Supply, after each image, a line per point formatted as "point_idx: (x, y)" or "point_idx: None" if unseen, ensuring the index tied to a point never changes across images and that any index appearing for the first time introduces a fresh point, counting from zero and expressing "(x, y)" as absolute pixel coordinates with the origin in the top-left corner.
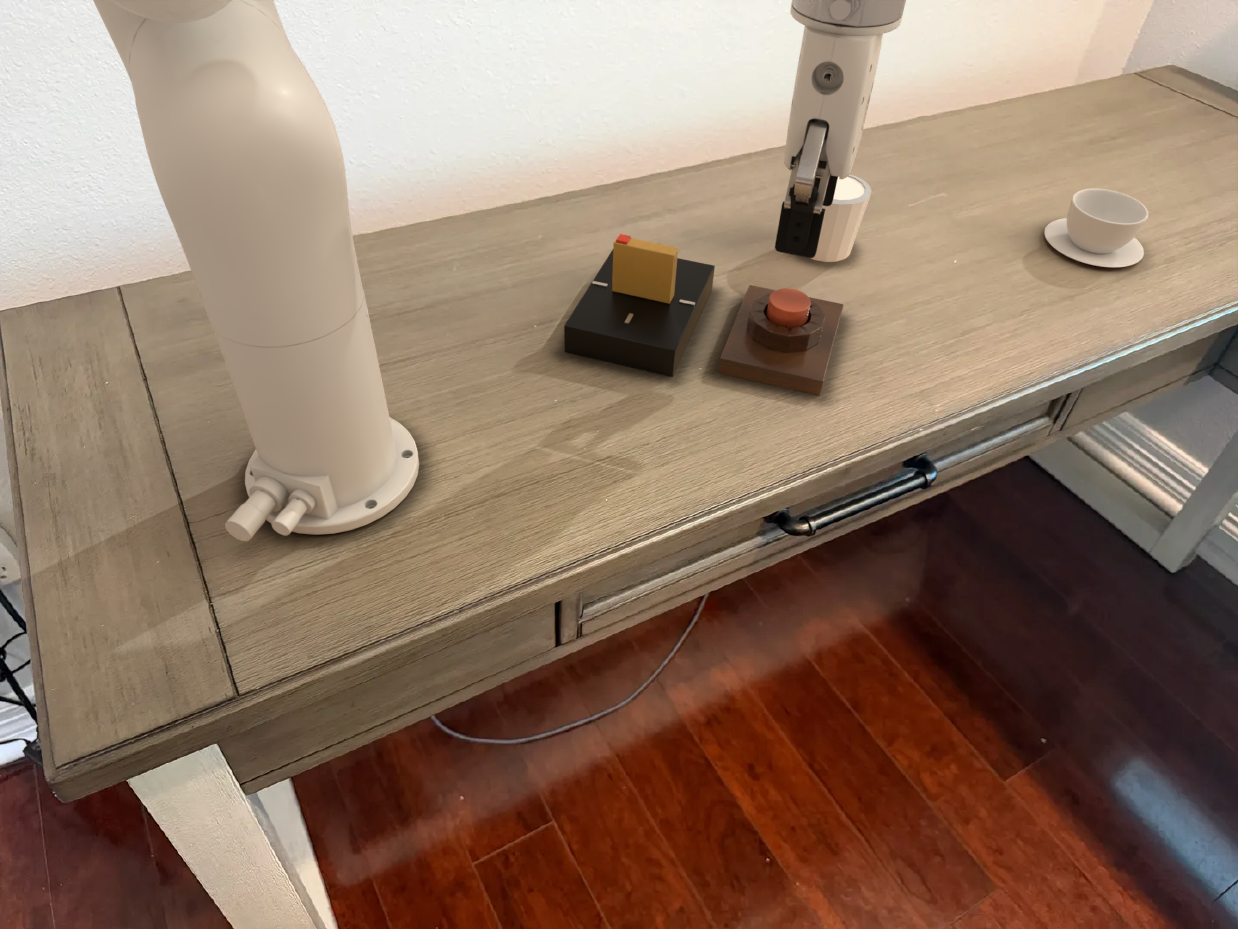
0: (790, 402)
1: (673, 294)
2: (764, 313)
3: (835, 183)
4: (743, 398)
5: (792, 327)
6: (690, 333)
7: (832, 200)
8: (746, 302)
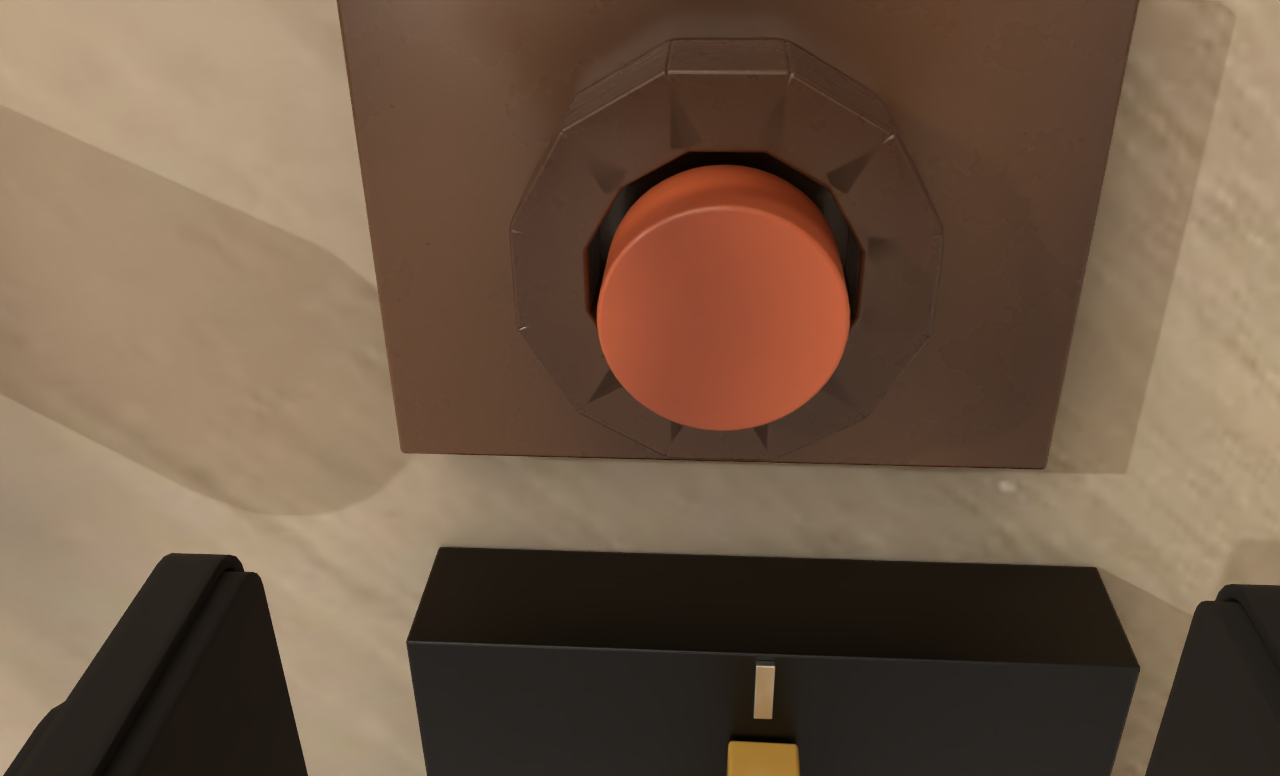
0: (1186, 74)
1: (747, 753)
2: None
3: (119, 731)
4: (1187, 288)
5: (831, 230)
6: (822, 580)
7: (211, 583)
8: (557, 441)
